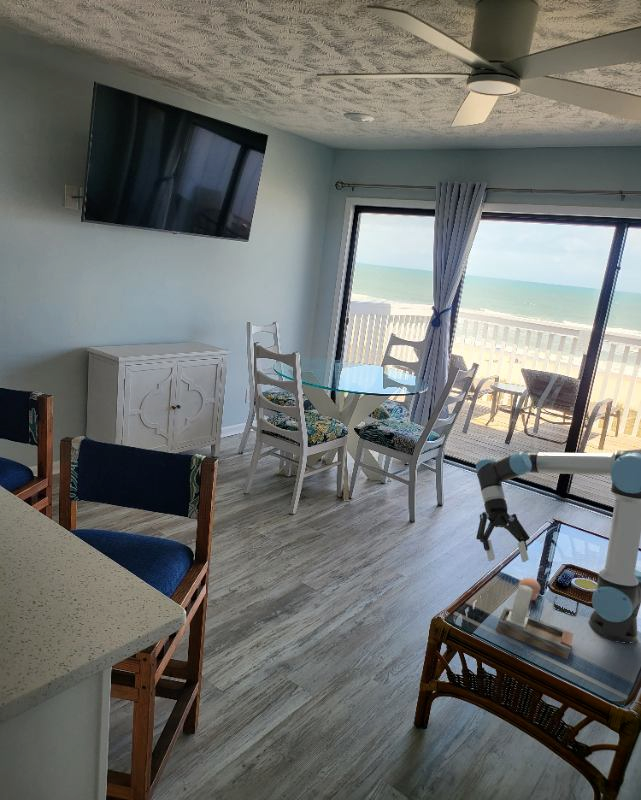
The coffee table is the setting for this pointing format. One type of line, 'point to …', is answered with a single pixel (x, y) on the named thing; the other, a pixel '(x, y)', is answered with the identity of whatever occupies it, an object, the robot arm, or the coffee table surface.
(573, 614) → the phone
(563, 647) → the track
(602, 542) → the coffee table surface
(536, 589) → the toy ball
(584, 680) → the coffee table surface
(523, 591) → the disc
